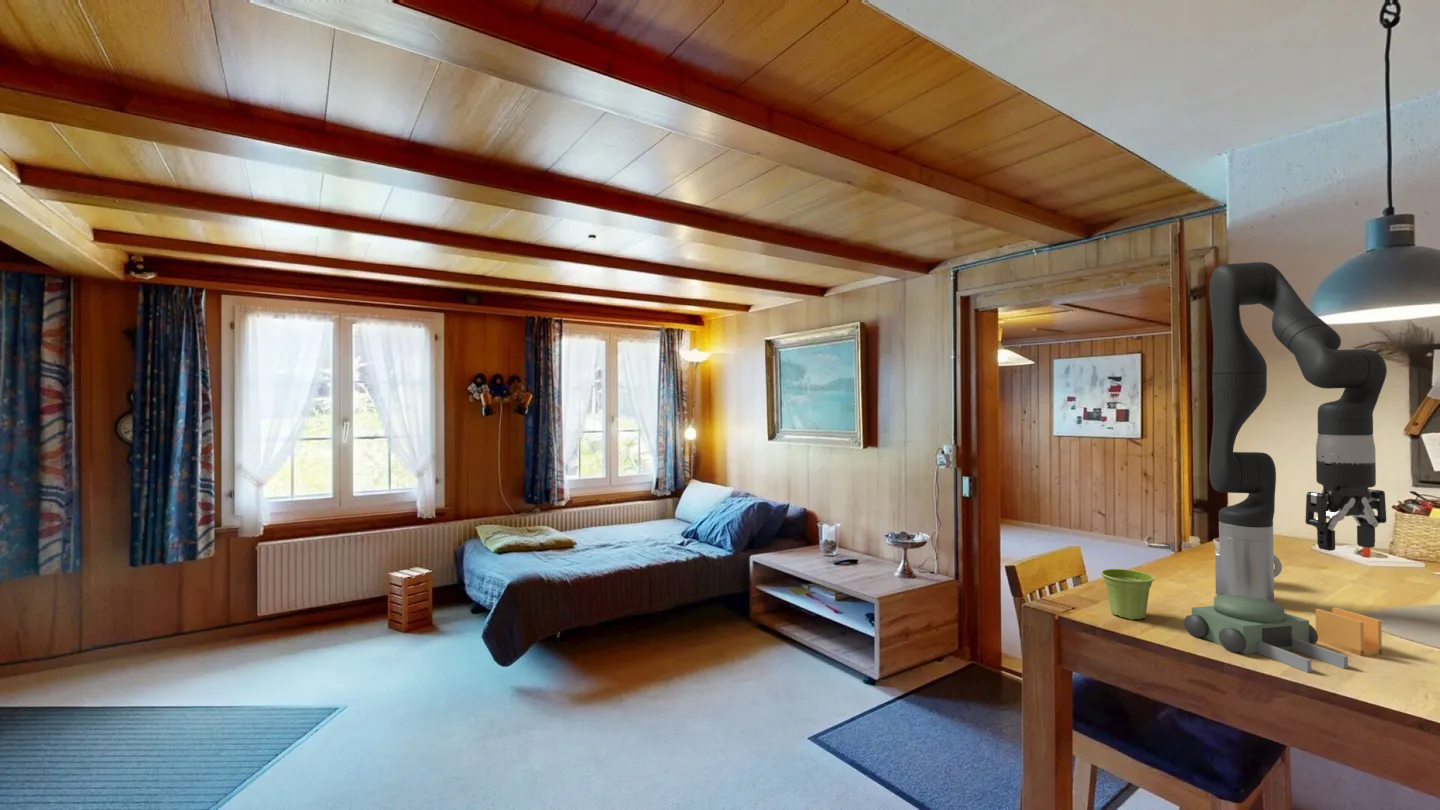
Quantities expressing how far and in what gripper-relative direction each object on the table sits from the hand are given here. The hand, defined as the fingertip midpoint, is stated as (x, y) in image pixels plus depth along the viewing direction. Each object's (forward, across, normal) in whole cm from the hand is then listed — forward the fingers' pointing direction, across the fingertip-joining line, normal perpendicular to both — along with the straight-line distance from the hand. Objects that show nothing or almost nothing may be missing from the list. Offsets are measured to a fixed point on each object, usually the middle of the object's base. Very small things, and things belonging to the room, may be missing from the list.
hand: (1346, 548), depth 110 cm
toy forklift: (+18, +14, -2) cm, 23 cm away
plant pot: (+18, +25, -22) cm, 38 cm away
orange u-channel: (+18, 0, 0) cm, 18 cm away
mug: (+18, -20, -35) cm, 44 cm away
